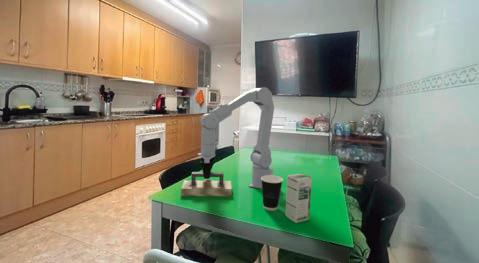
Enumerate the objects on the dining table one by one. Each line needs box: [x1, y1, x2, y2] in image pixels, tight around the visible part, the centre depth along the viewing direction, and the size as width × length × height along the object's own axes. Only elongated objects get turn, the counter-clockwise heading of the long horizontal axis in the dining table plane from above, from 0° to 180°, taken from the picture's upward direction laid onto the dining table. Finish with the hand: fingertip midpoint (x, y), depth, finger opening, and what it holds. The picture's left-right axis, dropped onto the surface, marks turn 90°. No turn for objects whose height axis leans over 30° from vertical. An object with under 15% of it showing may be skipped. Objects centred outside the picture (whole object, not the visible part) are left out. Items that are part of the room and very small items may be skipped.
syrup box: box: [285, 173, 313, 224], centre depth 81 cm, size 6×6×14 cm
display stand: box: [180, 178, 233, 197], centre depth 102 cm, size 20×10×5 cm, turn 95°
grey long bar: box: [190, 171, 224, 185], centre depth 102 cm, size 13×2×4 cm, turn 95°
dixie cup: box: [261, 174, 284, 212], centre depth 89 cm, size 8×8×11 cm
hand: (207, 175), depth 102 cm, fingers open, 7 cm apart
